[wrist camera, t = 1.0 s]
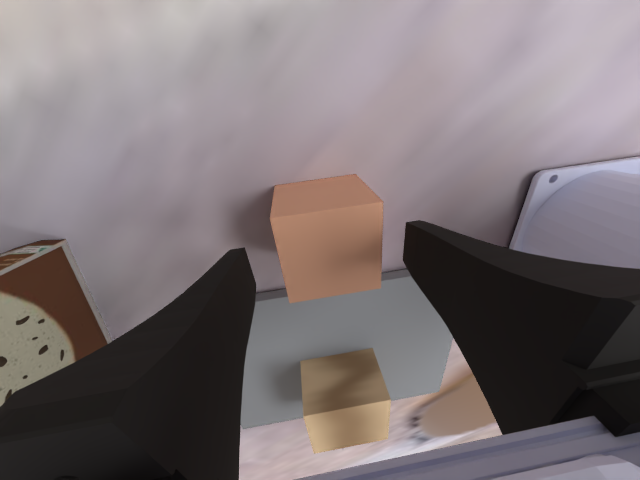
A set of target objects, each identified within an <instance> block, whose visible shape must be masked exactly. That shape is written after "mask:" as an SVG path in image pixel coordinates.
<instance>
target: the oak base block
mask: <svg viewBox="0 0 640 480" xmlns="http://www.w3.org/2000/svg"><path fill="white" fill-rule="evenodd" d="M300 364H301V382H302V401H303V417H304V420H305V424H306V427H307V431H308V434H309V438H310V441H311V445H312V448H313V452H314V454H315V453H320V452H325V451H330V450H335V449H340V448H345V447H350V446H355V445H360V444H365V443H370V442H375V441H380V440H385V439H388V430H389V417H390V404H391V399H390V396H389V393H388V390H387V387H386V384H385V382H384V379H383V376H382V373H381V370H380V367H379V365H378V362H377V359H376V356H375V353H374V350H373V348H370V349H364V350H359V351H353V352H348V353H342V354H336V355H331V356H325V357H320V358H314V359H308V360H303V361H300Z"/></svg>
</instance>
